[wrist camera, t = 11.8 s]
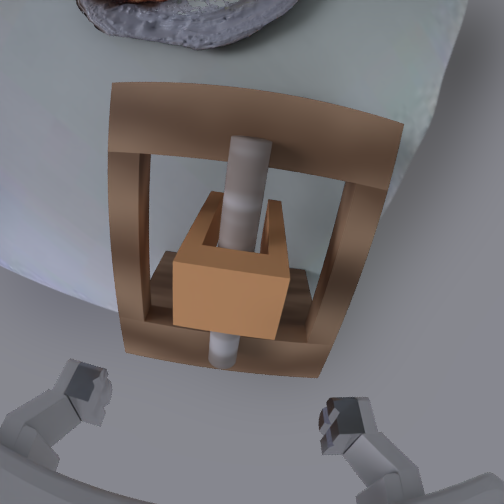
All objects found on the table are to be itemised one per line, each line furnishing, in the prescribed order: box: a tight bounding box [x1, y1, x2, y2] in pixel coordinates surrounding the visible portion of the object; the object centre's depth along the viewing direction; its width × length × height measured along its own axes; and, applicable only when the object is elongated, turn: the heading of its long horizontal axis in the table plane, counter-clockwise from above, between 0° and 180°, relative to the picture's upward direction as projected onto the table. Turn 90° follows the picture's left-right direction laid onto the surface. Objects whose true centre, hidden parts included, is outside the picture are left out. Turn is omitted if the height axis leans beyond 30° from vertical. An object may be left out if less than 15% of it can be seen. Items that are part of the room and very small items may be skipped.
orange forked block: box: [173, 191, 290, 340], centre depth 20 cm, size 4×6×11 cm
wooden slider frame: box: [108, 82, 404, 378], centre depth 24 cm, size 20×16×16 cm
